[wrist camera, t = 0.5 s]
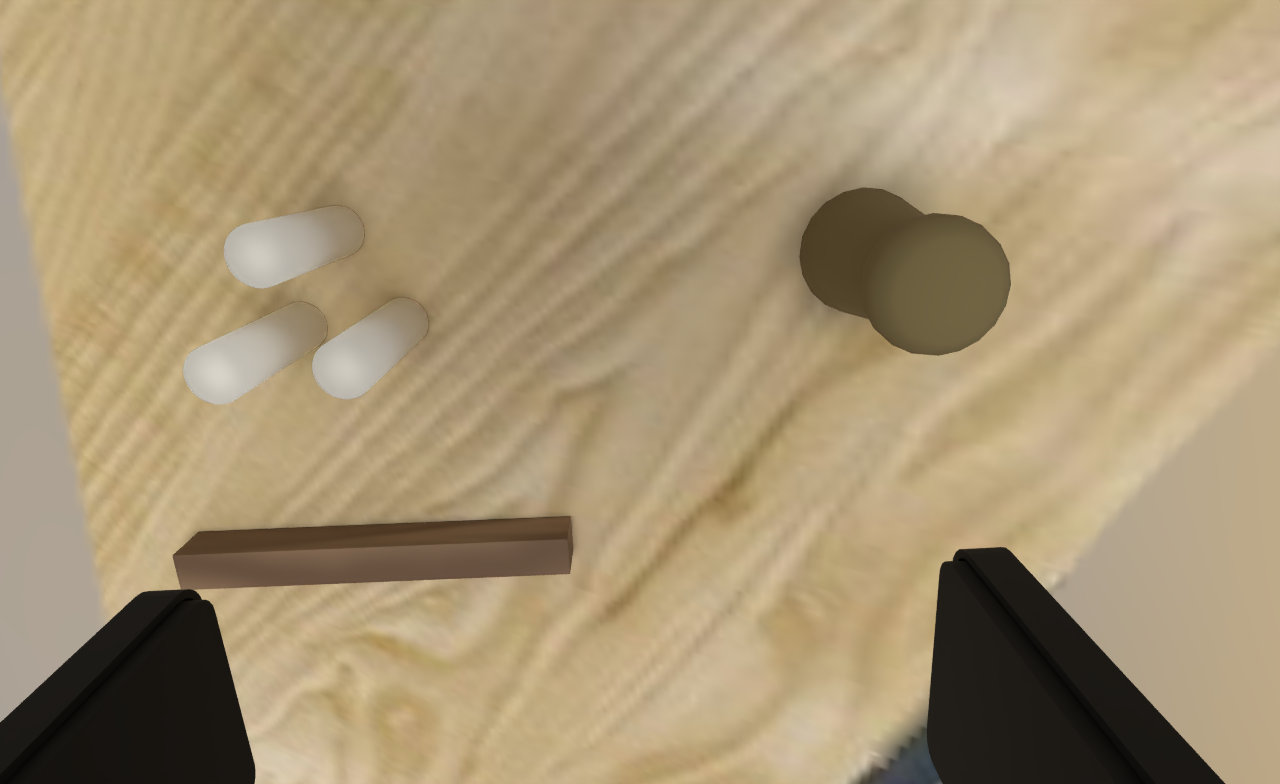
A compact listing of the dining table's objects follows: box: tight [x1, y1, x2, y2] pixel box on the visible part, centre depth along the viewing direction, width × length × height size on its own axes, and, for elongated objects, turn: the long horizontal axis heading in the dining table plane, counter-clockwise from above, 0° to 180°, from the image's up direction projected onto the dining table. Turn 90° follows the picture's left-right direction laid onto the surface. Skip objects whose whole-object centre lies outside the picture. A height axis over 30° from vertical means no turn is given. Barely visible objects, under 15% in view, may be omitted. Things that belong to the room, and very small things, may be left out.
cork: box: [800, 188, 1011, 355], centre depth 32 cm, size 6×6×11 cm
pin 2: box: [312, 298, 429, 399], centre depth 34 cm, size 2×2×8 cm
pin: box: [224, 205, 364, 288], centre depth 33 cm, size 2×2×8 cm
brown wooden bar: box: [173, 517, 573, 590], centre depth 41 cm, size 2×20×2 cm, turn 92°
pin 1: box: [183, 302, 327, 404], centre depth 34 cm, size 2×2×8 cm
